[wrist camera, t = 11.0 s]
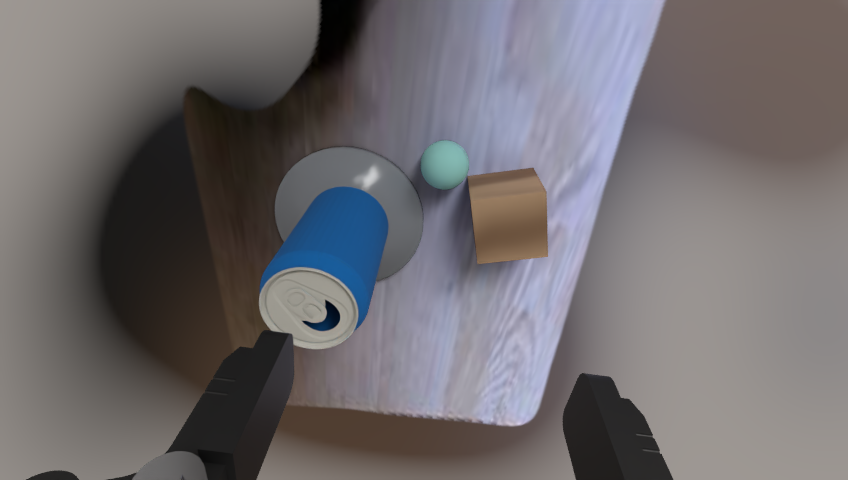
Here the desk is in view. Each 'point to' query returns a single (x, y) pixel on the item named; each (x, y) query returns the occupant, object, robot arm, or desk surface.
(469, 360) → the desk surface
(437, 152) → the teal ball
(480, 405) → the desk surface
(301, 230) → the beverage can
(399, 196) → the coaster
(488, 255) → the walnut cube
